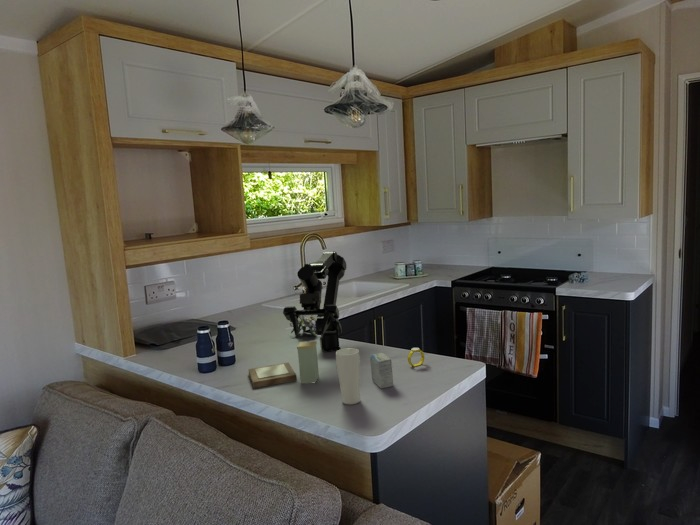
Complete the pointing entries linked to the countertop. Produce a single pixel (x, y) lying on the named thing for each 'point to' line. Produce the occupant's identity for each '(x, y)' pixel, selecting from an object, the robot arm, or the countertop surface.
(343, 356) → the drinking glass
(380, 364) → the medicine box
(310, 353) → the tea tin
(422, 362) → the watch
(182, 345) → the countertop surface
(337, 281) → the robot arm
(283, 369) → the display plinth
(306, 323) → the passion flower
